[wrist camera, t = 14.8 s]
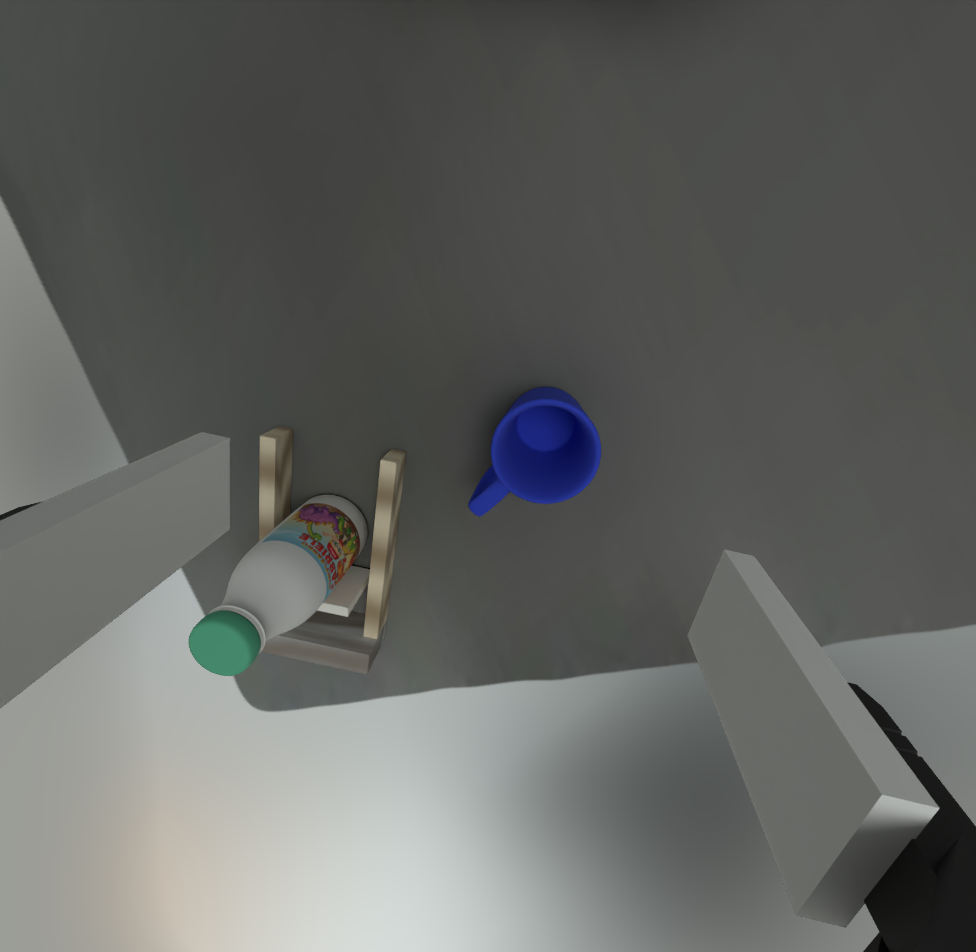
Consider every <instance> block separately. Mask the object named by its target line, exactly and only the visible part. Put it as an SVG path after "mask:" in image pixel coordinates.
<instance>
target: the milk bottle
mask: <svg viewBox="0 0 976 952" xmlns="http://www.w3.org/2000/svg"><path fill="white" fill-rule="evenodd" d="M367 536H368V530H367V525H366V521H365V518H364V517H363V515H362V513H361V512H360V510H359V509H358V508H357V507H356V506H355V505H354V504H353V503H351V502H350V501H348V500H347V499H344V498H342V497H340V496H335V495H319V496H315V497H313V498H311V499H309V500H308V501H306V502H305V503H304V504H302V505H301V506H300V507H299V508H298V509H296V510H295V511H294V512H293V513H292V514H291V515H289V516H288V517H287V518H286V519H285V520H283V521H282V522H281V523H280V524H279V525H278V526H276V527H275V528H274V529H273V530H272V531H271V532H270V533H268V534H267V535H266V536H265V537H264V538H263V539H261V540H260V541H259V542H258V543H257V544H256V545H255V546H254V547H253V548H252V549H251V550H250V551H249V552H248V553H247V554H246V555H245V556H244V557H243V558H242V559H241V561H240V562H239V563H238V565H237V566H236V568H235V570H234V571H233V574H232V576H231V578H230V581H229V584H228V588H227V592H226V596H225V598H224V601H223V603H222V604H221V606H219V607H216V608H214V609H213V610H212V611H210V613H209V614H208V615H207V616H205V617H204V618H203V619H202V620H201V621H200V622H199V623H198V624H197V625H196V626H195V627H194V628H193V630H192V632H191V633H190V636H189V648H190V651H191V653H192V655H193V657H194V658H195V660H196V661H197V662H198V663H199V664H200V665H201V666H202V667H204V668H205V669H207V670H208V671H210V672H212V673H215V674H218V675H223V676H233V675H237V674H239V673H241V672H243V671H244V670H246V669H247V668H248V667H249V666H250V665H251V663H252V662H253V661H254V660H255V658H256V657H257V656H258V654H259V653H260V652H261V651H262V650H263V648H264V646H265V642H266V641H267V640H269V639H270V638H272V637H274V636H276V635H279V634H281V633H284V632H287V631H289V630H291V629H293V628H295V627H297V626H299V625H300V624H302V623H303V622H305V621H306V620H307V619H308V618H310V617H311V616H312V615H313V614H314V613H315V612H316V611H317V610H318V608H319V607H320V606H321V605H322V604H323V602H324V601H325V600H326V599H327V597H328V596H329V595H330V593H331V592H332V591H333V589H334V588H335V587H336V585H337V584H338V583H339V581H340V580H341V579H342V577H343V576H344V575H345V573H346V572H347V571H348V569H349V568H350V567H351V565H352V564H353V563H354V561H355V560H356V558H357V557H358V556H359V554H360V553H361V551H362V550H363V548H364V547H365V544H366V541H367Z"/></svg>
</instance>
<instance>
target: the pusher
mask: <svg viewBox="0 0 976 952" xmlns="http://www.w3.org/2000/svg"><path fill="white" fill-rule="evenodd" d="M369 574H370V569H365V568H361V567H356V566H351V567H350V568H349V569H348V571H347V572H346V573H345V575H344V576H343V577H342V579H341V580H340V581H339V583H338V584H337V585H336V587H335V588H334V589H333V591H332V592H331V593H330V595H329V596H328V597H327V599H326V600H325V601H324V602H323V604H322V605H321V606H320V607H319V608H318V611H322V612H327V613H332V614H336V615H341V616H346V617H348V616H349V614H350V612H351V611H352V609H353V607H354V606H355V604H356V602H357V601H358V599H359V597H360V596H361V594H362V593H363V591H364V589H365V588H366V586H367V584H368V583H369Z"/></svg>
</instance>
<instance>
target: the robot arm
mask: <svg viewBox="0 0 976 952" xmlns="http://www.w3.org/2000/svg"><path fill="white" fill-rule="evenodd" d="M229 529H230V438H227V437H222V436H218V435H213V434H209V433H204V432H201V433H198V434H196V435H194V436H192V437H189V438H187V439H185V440H182V441H180V442H178V443H176V444H173V445H171V446H169V447H167V448H164V449H162V450H160V451H157V452H155V453H153V454H151V455H148V456H146V457H144V458H141V459H139V460H137V461H135V462H132V463H130V464H128V465H126V466H123V467H121V468H119V469H117V470H114V471H112V472H110V473H107V474H105V475H103V476H101V477H98V478H96V479H94V480H91V481H89V482H87V483H85V484H83V485H81V486H78V487H76V488H73V489H71V490H69V491H66V492H64V493H62V494H60V495H57V496H55V497H53V498H50V499H48V500H46V501H43V502H39V503H35V504H31V505H26V506H23V507H18V508H16V509H14V510H11V511H9V512H7V513H4V514H2V515H0V708H2V707H3V706H4V705H5V704H7V703H8V702H9V701H11V700H12V699H13V698H14V697H16V696H17V695H18V694H20V693H21V692H22V691H23V690H25V689H26V688H27V687H28V686H30V685H31V684H32V683H33V682H35V681H36V680H37V679H39V678H40V677H41V676H43V675H44V674H45V673H46V672H48V671H49V670H50V669H51V668H53V667H54V666H55V665H57V664H58V663H59V662H61V661H62V660H63V659H64V658H66V657H67V656H68V655H69V654H71V653H72V652H73V651H74V650H76V649H77V648H78V647H80V646H81V645H82V644H83V643H84V642H86V641H87V640H89V639H90V638H91V637H92V636H94V635H95V634H96V633H98V632H99V631H100V630H101V629H102V628H104V627H105V626H106V625H108V624H109V623H110V622H112V621H113V620H114V619H115V618H117V617H118V616H119V615H121V614H122V613H123V612H124V611H126V610H127V609H128V608H130V607H131V606H132V605H133V604H135V603H136V602H137V601H139V600H140V599H141V598H142V597H143V596H145V595H146V594H147V593H149V592H150V591H151V590H153V589H154V588H155V587H156V586H158V585H159V584H160V583H161V582H162V581H164V580H165V579H166V578H168V577H169V576H171V575H172V574H173V573H174V572H176V571H177V570H178V569H179V568H181V567H182V566H183V565H185V564H186V563H187V562H188V561H190V560H191V559H192V558H194V557H195V556H196V555H197V554H199V553H200V552H201V551H202V550H204V549H205V548H206V547H208V546H209V545H210V544H211V543H213V542H214V541H215V540H217V539H218V538H219V537H220V536H222V535H223V534H224V533H226V532H227V531H228V530H229ZM688 638H689V640H690V643H691V645H692V648H693V651H694V653H695V656H696V658H697V661H698V663H699V666H700V669H701V671H702V674H703V676H704V679H705V681H706V684H707V687H708V689H709V692H710V694H711V697H712V699H713V702H714V705H715V707H716V710H717V713H718V715H719V718H720V720H721V723H722V725H723V728H724V731H725V733H726V736H727V738H728V741H729V744H730V746H731V749H732V751H733V754H734V757H735V759H736V762H737V764H738V767H739V769H740V772H741V775H742V777H743V780H744V782H745V785H746V787H747V790H748V793H749V795H750V798H751V800H752V803H753V805H754V808H755V811H756V813H757V816H758V819H759V821H760V823H761V826H762V829H763V831H764V834H765V837H766V839H767V842H768V844H769V847H770V849H771V852H772V854H773V857H774V860H775V862H776V865H777V868H778V870H779V873H780V875H781V878H782V881H783V883H784V885H785V888H786V891H787V893H788V896H789V899H790V901H791V904H792V906H793V909H794V911H795V914H796V915H797V916H801V917H805V918H809V919H813V920H817V921H821V922H826V923H829V924H833V925H837V926H841V927H846V926H847V925H848V924H849V923H850V922H851V920H852V919H853V918H854V916H855V915H856V914H857V913H858V911H859V910H860V909H861V908H862V906H863V905H864V904H866V906H867V908H868V910H869V912H870V914H871V916H872V918H873V920H874V922H875V924H876V926H877V928H878V930H879V933H878V935H877V936H876V937H875V938H874V939H873V941H872V942H871V943H870V944H869V945H868V947H867V948H866V949H865V950H864V951H863V952H976V826H975V825H974V824H973V823H972V821H971V820H970V819H969V817H968V816H967V815H966V813H965V812H964V811H963V810H962V808H961V807H960V806H959V804H958V803H957V802H956V801H955V799H954V798H953V797H952V795H951V794H950V793H949V792H948V791H947V789H946V788H945V786H944V785H943V784H942V783H941V781H940V780H939V779H938V777H937V776H936V775H935V774H934V773H933V771H932V770H931V768H930V767H929V766H928V765H927V763H926V762H925V761H924V760H923V758H922V757H919V756H918V755H917V750H916V749H915V748H914V747H913V745H912V744H911V743H910V742H909V740H908V739H907V738H906V736H902V735H901V732H902V731H901V730H900V729H899V727H898V726H897V725H896V724H895V722H894V721H893V720H892V719H891V717H890V716H889V715H888V713H887V712H886V711H885V709H884V708H883V707H882V706H881V705H880V704H878V703H877V702H876V701H875V700H874V699H873V698H872V697H870V696H869V695H868V694H867V693H866V692H865V691H863V690H862V689H861V688H860V687H859V686H858V685H856V684H852V683H848V682H846V681H845V680H844V678H843V677H842V675H841V674H840V672H839V671H838V670H837V668H836V667H835V666H834V664H833V663H832V662H831V660H830V659H829V657H828V656H827V655H826V653H825V652H824V651H823V649H822V648H821V647H820V645H819V644H818V642H817V641H816V640H815V638H814V637H813V636H812V634H811V633H810V632H809V630H808V629H807V628H806V626H805V625H804V623H803V622H802V621H801V619H800V618H799V617H798V615H797V614H796V613H795V611H794V610H793V609H792V607H791V606H790V604H789V603H788V602H787V600H786V599H785V598H784V596H783V595H782V594H781V592H780V591H779V590H778V588H777V587H776V585H775V584H774V583H773V581H772V580H771V579H770V577H769V576H768V575H767V573H766V572H765V571H764V569H763V568H762V566H761V565H760V564H759V562H758V561H757V560H756V558H755V557H754V556H751V555H746V554H742V553H737V552H733V551H728V550H724V551H723V553H722V556H721V558H720V560H719V563H718V565H717V567H716V570H715V572H714V574H713V577H712V579H711V581H710V584H709V586H708V588H707V591H706V593H705V595H704V598H703V600H702V602H701V605H700V607H699V610H698V612H697V614H696V617H695V619H694V621H693V624H692V626H691V628H690V631H689V633H688Z"/></svg>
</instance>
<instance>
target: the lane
mask: <svg viewBox="0 0 976 952" xmlns="http://www.w3.org/2000/svg"><path fill="white" fill-rule="evenodd" d="M292 451H293V429H290V428H285V427H280V426H278V427H276V428H274V429H272V430H270V431H268V432H266V433H264V434H262V435H260V492H259V541H260V540H261V539H263V538H264V537H265V536H266V535H267V534H268V533H270V532H271V531H272V530H273V529H274V528H275V527H276V526H278V525H279V524H280V523H281V522H282V521H283V520H285V519H286V518H287V517H288V516H289V515H290V513H291V482H292ZM405 460H406V451H401V450H396V449H391V450H390V451H389V452H388V453H387V454H386V455H385V456H384V457H383V458H382V459H381V462H380V472H379V482H378V492H377V503H376V513H375V523H374V533H373V543H372V553H371V564H370V574H369V584H368V594H367V604H366V614H360V613H356V612H350V614H349V616H348V617H346V616H341V615H336V614H332V613H327V612H322V611H318V610H317V611H316V612H315V613H314V614H313V615H312V616H311V617H310V618H308V619H307V620H306V621H305V622H303V623H302V624H300V625H299V626H297V627H295V628H293V629H291V630H289V631H287V632H284V633H281V634H279V635H276V636H274V637H272V638H270V639H269V640H267V641H266V642H265V646H264V648H263V650H262V651H261V652H266V653H271V654H275V655H280V656H285V657H289V658H294V659H298V660H303V661H308V662H312V663H317V664H321V665H326V666H331V667H335V668H340V669H344V670H349V671H354V672H358V673H363V674H368V672H369V670H370V668H371V666H372V663H373V661H374V659H375V657H376V655H377V653H378V651H379V648H380V646H381V644H382V642H383V640H384V638H385V631H386V622H387V614H388V605H389V597H390V588H391V580H392V571H393V563H394V554H395V546H396V537H397V529H398V520H399V511H400V503H401V494H402V486H403V477H404V469H405Z"/></svg>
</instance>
